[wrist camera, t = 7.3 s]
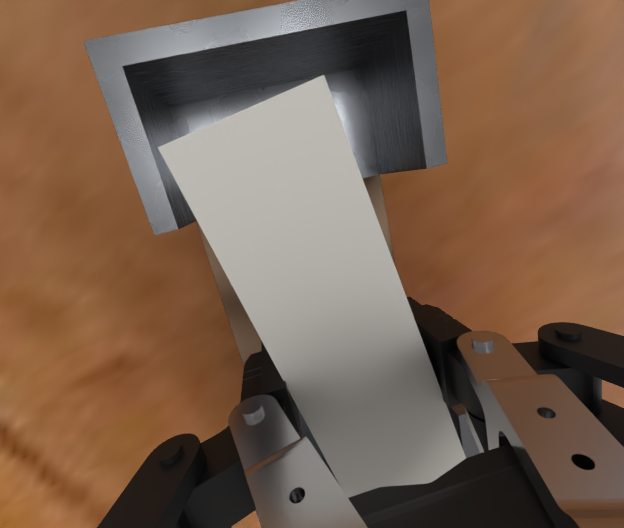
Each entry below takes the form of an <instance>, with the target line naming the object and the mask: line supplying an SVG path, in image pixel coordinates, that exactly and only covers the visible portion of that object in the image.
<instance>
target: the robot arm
mask: <svg viewBox="0 0 624 528" xmlns="http://www.w3.org/2000/svg"><path fill="white" fill-rule="evenodd" d="M407 300H408V303H409V305H410V308H411V311H412V313H413V316H414V319H415V322H416V324H417V327H418V330H419V332H420V335H421V338H422V340H423V343H424V346H425V349H426V351H427V354H428V357H429V359H430V362H431V365H432V367H433V370H434V373H435V376H436V378H437V381H438V384H439V386H440V389H441V392H442V397H443V401H444V402H445V403H446V405H447V406H448V407H452V406H455V405H459V404H463V405H464V406H465V413H466V419H467V422H468V424H469V427H470V429H471V432H472V434H473V437H474V439H475V441H476V444H477V446H478V449H479V451H480V454H477V455H474V456H471V457H468V458H466V459H464V460H463V461H462V462H460V463H459V464H457V465H456V466H454V467H453V468H452V469H450V470H449V471H447V472H446V473H444V474H443V475H442V476H440V477H439V478H437V479H436V480H434V481H433V482H430V483H426V484H414V485H401V486H387V487H379V488H376V489H373V490H370V491H367V492H364V493H361V494H358V495H355V496H352V497H349V498H348V497H347V496H346V494H345V493H344V491H343V490H342V488H341V487H340V485H339V484H338V482H337V481H336V479H335V478H334V476H333V475H332V473H331V472H330V470H329V469H328V467H327V466H326V465H325V463H324V462H323V460H322V459H321V457H320V456H319V454H318V453H317V451H316V450H315V448H314V447H313V445H312V444H311V442H310V441H309V439H308V438H307V437H306V436H304V437H303V435H302V429H301V423H300V416H299V410H298V407H297V405H296V403H295V401H294V400H293V398H292V396H291V394H290V392H289V390H288V388H287V385H286V381H283V379H282V377H281V375H280V374H279V372H278V370H277V368H276V366H275V364H274V363H273V361H272V359H271V357H270V355H269V353H268V351H267V350H266V348H265V346H264V344H263V342H262V343H261V351H260V352H257V353H253V354H251V355H250V356H249V358H248V359H247V360H246V362H245V364H244V373H243V383H242V392H241V401H240V404H238V405H237V406H236V407H235V408H234V409H233V411H232V412H231V414H230V416H229V419H228V423H229V426H228V427H227V428H226V429H224V430H223V431H222V432H220V433H219V434H217V435H215V436H213V437H211V438H210V439H208V440H206V441H204V442H202V443H200V441H199V439H198V437H197V436H196V435H193V434H181V435H177V436H175V437H172V438H170V439H168V440H166V441H165V442H163V443H162V444H160V445H159V446H158V447H157V448H156V449H154V450H153V451H152V453H151V454H150V455H149V456H148V457H147V459H146V460H145V461H144V463H143V464H142V466H141V467H140V468H139V470H138V471H137V473H136V474H135V475H134V477H133V478H132V480H131V481H130V482H129V484H128V485H127V487H126V488H125V489H124V491H123V492H122V494H121V495H120V496H119V498H118V499H117V501H116V502H115V503H114V505H113V506H112V508H111V509H110V510H109V512H108V513H107V515H106V516H105V517H104V519H103V520H102V522H101V523H100V524H99V526H98V527H97V528H231V526H233V525H234V524H236V523H237V522H239V521H240V520H241V519H243V518H244V517H246V516H247V515H249V514H250V513H252V512H253V511H255V510H256V509H257V513H258V516H259V519H260V522H261V525H262V528H624V408H622V407H619V406H617V405H615V404H612V403H610V402H608V401H605V400H603V399H602V380H605V381H607V382H610V383H613V384H615V385H618V386H620V387H623V388H624V336H621V335H618V334H614V333H610V332H606V331H603V330H599V329H595V328H592V327H588V326H584V325H580V324H575V323H565V322H559V323H550V324H546V325H544V326H542V327H540V328H539V330H538V341H536V342H525V343H512V344H511V343H510V341H509V340H508V339H507V338H506V337H504V336H503V335H501V334H498V333H495V332H491V331H472V330H470V329H469V328H467V327H466V326H464V325H463V324H461V323H460V322H458V321H457V320H455V319H453V318H452V317H451V316H450V315H448V314H446V313H445V312H444V311H442V310H441V309H439V308H437V307H434V306H430V305H421V304H419V303H418V302H417V301H415V300H414V299H412V298H411V297H407Z"/></svg>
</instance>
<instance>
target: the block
mask: <svg viewBox="0 0 624 528" xmlns="http://www.w3.org/2000/svg"><path fill="white" fill-rule="evenodd" d="M158 149H159V151H160V153H161V155H162V157H163V158H164V160H165V162H166V164H167V166H168V168H169V170H170V171H171V173H172V175H173V177H174V179H175V181H176V183H177V184H178V186H179V188H180V190H181V192H182V194H183V196H184V197H185V199H186V201H187V203H188V205H189V207H190V208H191V210H192V212H193V214H194V216H195V218H196V220H197V221H198V223H199V225H200V227H201V229H202V231H203V233H204V234H205V236H206V238H207V240H208V242H209V244H210V246H211V247H212V249H213V251H214V253H215V255H216V257H217V259H218V260H219V262H220V264H221V266H222V268H223V270H224V272H225V273H226V275H227V277H228V279H229V281H230V283H231V285H232V286H233V288H234V290H235V292H236V294H237V296H238V298H239V299H240V301H241V303H242V305H243V307H244V309H245V311H246V312H247V314H248V316H249V318H250V320H251V322H252V324H253V325H254V327H255V329H256V331H257V333H258V335H259V337H260V338H261V340H262V342H263V344H264V346H265V348H266V350H267V351H268V353H269V355H270V357H271V359H272V361H273V363H274V364H275V366H276V368H277V370H278V372H279V374H280V375H281V377H282V379H283V381H286V385H287V388H288V390H289V392H290V394H291V396H292V398H293V400H294V401H295V403H296V405H297V407H298V409H299V411H300V413H301V414H302V416H303V418H304V420H305V422H306V424H307V426H308V427H309V429H310V431H311V433H312V435H313V437H314V439H315V440H316V442H317V444H318V446H319V448H320V450H321V452H322V453H323V455H324V457H325V459H326V461H327V463H328V465H329V466H330V468H331V470H332V472H333V474H334V476H335V478H336V479H337V481H338V483H339V485H340V487H341V488H342V490H343V491H344V493H345V494H346V496H347V497H348V498H349V497H352V496H355V495H358V494H361V493H364V492H367V491H370V490H373V489H376V488H379V487H387V486H401V485H414V484H426V483H430V482H433V481H434V480H436V479H437V478H439V477H440V476H442V475H443V474H444V473H446V472H447V471H449V470H450V469H452V468H453V467H454V466H456V465H457V464H459V463H460V462H462V461H463V460H464V459H466V456H465V454H464V451H463V448H462V446H461V443H460V440H459V438H458V435H457V432H456V429H455V427H454V424H453V421H452V419H451V416H450V413H449V411H448V408H447V405H446V403H445V402H444V401H443V397H442V392H441V389H440V386H439V384H438V381H437V378H436V376H435V373H434V370H433V367H432V365H431V362H430V359H429V357H428V354H427V351H426V349H425V346H424V343H423V340H422V338H421V335H420V332H419V330H418V327H417V324H416V322H415V319H414V316H413V313H412V311H411V308H410V305H409V303H408V300H407V297H406V295H405V292H404V289H403V287H402V284H401V281H400V278H399V276H398V273H397V270H396V268H395V265H394V262H393V260H392V257H391V254H390V251H389V249H388V246H387V243H386V241H385V238H384V235H383V233H382V230H381V227H380V224H379V222H378V219H377V216H376V214H375V211H374V208H373V206H372V203H371V200H370V198H369V195H368V192H367V189H366V187H365V184H364V181H363V179H362V176H361V173H360V171H359V168H358V165H357V162H356V160H355V157H354V154H353V152H352V149H351V146H350V144H349V141H348V138H347V135H346V133H345V130H344V127H343V125H342V122H341V119H340V117H339V114H338V111H337V109H336V106H335V103H334V100H333V98H332V95H331V92H330V90H329V87H328V84H327V82H326V79H325V76H324V75H322V76H320V77H317V78H315V79H313V80H311V81H308V82H306V83H304V84H301V85H299V86H297V87H295V88H292V89H290V90H288V91H285V92H283V93H281V94H279V95H276V96H274V97H272V98H269V99H267V100H265V101H263V102H260V103H258V104H256V105H253V106H251V107H249V108H247V109H244V110H242V111H240V112H237V113H235V114H233V115H231V116H228V117H226V118H224V119H221V120H219V121H217V122H215V123H212V124H210V125H208V126H206V127H203V128H201V129H199V130H196V131H194V132H192V133H190V134H187V135H185V136H183V137H180V138H178V139H176V140H174V141H171V142H169V143H167V144H164V145H162V146H160V147H158Z"/></svg>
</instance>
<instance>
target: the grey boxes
mask: <svg viewBox="0 0 624 528" xmlns="http://www.w3.org/2000/svg"><path fill="white" fill-rule="evenodd" d="M83 42H84V44H85V47H86V50H87V53H88V55H89V58H90V61H91V63H92V66H93V69H94V72H95V74H96V77H97V80H98V82H99V85H100V88H101V91H102V93H103V96H104V99H105V102H106V104H107V107H108V110H109V112H110V115H111V118H112V121H113V123H114V126H115V129H116V132H117V134H118V137H119V140H120V142H121V145H122V148H123V151H124V153H125V156H126V159H127V161H128V164H129V167H130V170H131V172H132V175H133V178H134V181H135V183H136V186H137V189H138V191H139V194H140V197H141V200H142V202H143V205H144V208H145V211H146V213H147V216H148V219H149V221H150V224H151V227H152V230H153V232H154V235H157V234H161V233H165V232H169V231H173V230H177V229H180V228H182V227H184V226H186V225H188V224H190V223H193V222H195V221H197V220H196V218H195V216H194V214H193V212H192V210H191V208H190V207H189V205H188V203H187V201H186V199H185V197H184V196H183V194H182V192H181V190H180V188H179V186H178V184H177V183H176V181H175V179H174V177H173V175H172V173H171V171H170V170H169V168H168V166H167V164H166V162H165V160H164V158H163V157H162V155H161V153H160V151H159V149H158V147H160V146H162V145H164V144H167V143H169V142H171V141H174V140H176V139H178V138H180V137H183V136H185V135H187V134H190V133H192V132H194V131H196V130H199V129H201V128H203V127H206V126H208V125H210V124H212V123H215V122H217V121H219V120H221V119H224V118H226V117H228V116H231V115H233V114H235V113H237V112H240V111H242V110H244V109H247V108H249V107H251V106H253V105H256V104H258V103H260V102H263V101H265V100H267V99H269V98H272V97H274V96H276V95H279V94H281V93H283V92H285V91H288V90H290V89H292V88H295V87H297V86H299V85H301V84H304V83H306V82H308V81H311V80H313V79H315V78H317V77H320V76H322V75H324V76H325V79H326V82H327V84H328V87H329V90H330V92H331V95H332V98H333V100H334V103H335V106H336V109H337V111H338V114H339V117H340V119H341V122H342V125H343V127H344V130H345V133H346V135H347V138H348V141H349V144H350V146H351V149H352V152H353V154H354V157H355V160H356V162H357V165H358V168H359V171H360V173H361V176H362V178H366V177H370V176H374V175H378V174H386V173H394V172H402V171H410V170H418V169H426V168H430V167H434V166H439V165H443V164H447V157H446V148H445V139H444V130H443V121H442V112H441V104H440V95H439V86H438V77H437V68H436V59H435V50H434V41H433V32H432V23H431V14H430V5H429V0H299V1H294V2H288V3H283V4H278V5H272V6H267V7H261V8H256V9H251V10H245V11H240V12H235V13H229V14H224V15H219V16H213V17H208V18H203V19H197V20H192V21H187V22H181V23H176V24H171V25H165V26H160V27H155V28H149V29H144V30H139V31H133V32H128V33H123V34H117V35H112V36H107V37H101V38H96V39H91V40H85V41H83ZM447 408H448V411H449V413H450V416H451V419H452V421H453V424H454V427H455V429H456V432H457V435H458V438H459V440H460V443H461V446H462V448H463V451H464V454H465V456H466V458H468V457H471V456H474V455H477V454H480V452H479V449H478V446H477V444H476V441H475V439H474V437H473V434H472V432H471V429H470V427H469V424H468V422H467V419H466V413H465V406H464V405H463V404H459V405H455V406H452V407H448V406H447ZM298 410H299V409H298ZM299 416H300V423H301V429H302V435H303V437H304V436H306V437H307V438H308V439H309V441H310V442H311V444H312V445H313V447H314V448H315V450H316V451H317V453H318V454H319V456H320V457H321V459H322V460H323V462H324V463H325V465H326V466H327V467H328V469H329V470H330V472H331V473H332V475H333V476H334V474H333V472H332V470H331V468H330V466H329V465H328V463H327V461H326V459H325V457H324V455H323V453H322V452H321V450H320V448H319V446H318V444H317V442H316V440H315V439H314V437H313V435H312V433H311V431H310V429H309V427H308V426H307V424H306V422H305V420H304V418H303V416H302V414H301V413H300V411H299ZM334 478H335V476H334ZM335 479H336V478H335ZM336 481H337V479H336ZM337 482H338V481H337ZM338 484H339V483H338ZM256 513H257V509H256ZM257 516H258V513H257ZM258 518H259V516H258ZM259 521H260V519H259ZM260 524H261V522H260ZM261 527H262V525H261Z"/></svg>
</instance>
